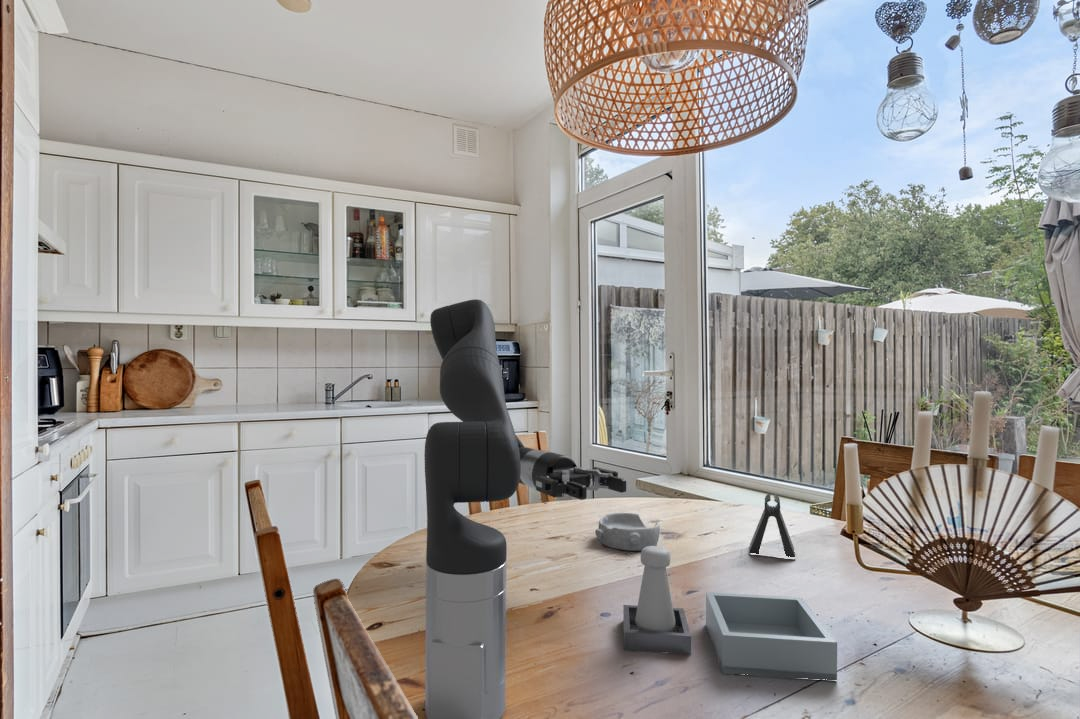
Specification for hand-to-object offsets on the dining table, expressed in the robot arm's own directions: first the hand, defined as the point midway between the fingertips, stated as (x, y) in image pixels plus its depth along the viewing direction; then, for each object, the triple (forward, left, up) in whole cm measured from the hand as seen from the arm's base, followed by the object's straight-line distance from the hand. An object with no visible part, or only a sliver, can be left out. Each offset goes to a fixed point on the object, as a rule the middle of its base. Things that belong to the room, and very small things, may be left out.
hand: (605, 489), depth 95 cm
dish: (+36, -5, -20) cm, 41 cm away
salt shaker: (-8, -8, -20) cm, 23 cm away
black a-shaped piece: (+33, -35, -20) cm, 51 cm away
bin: (-10, -23, -19) cm, 31 cm away
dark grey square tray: (-8, -8, -19) cm, 22 cm away
